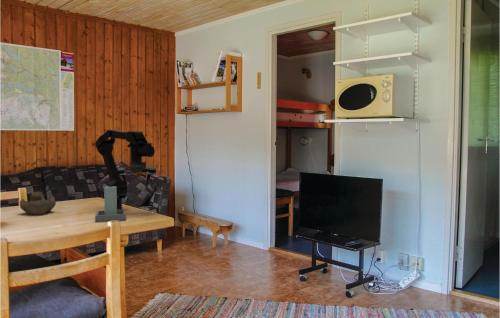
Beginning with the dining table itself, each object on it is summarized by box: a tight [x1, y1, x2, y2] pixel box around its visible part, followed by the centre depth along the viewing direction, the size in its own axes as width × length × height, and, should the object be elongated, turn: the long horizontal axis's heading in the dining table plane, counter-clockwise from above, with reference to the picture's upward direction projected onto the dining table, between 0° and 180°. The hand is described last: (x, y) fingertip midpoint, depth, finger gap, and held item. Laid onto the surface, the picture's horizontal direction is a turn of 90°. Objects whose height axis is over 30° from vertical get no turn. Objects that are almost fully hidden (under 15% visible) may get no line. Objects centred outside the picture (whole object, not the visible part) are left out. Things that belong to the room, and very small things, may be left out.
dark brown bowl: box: [19, 191, 57, 216], centre depth 213 cm, size 16×11×15 cm
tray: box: [94, 209, 126, 223], centre depth 200 cm, size 13×13×3 cm
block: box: [103, 186, 117, 215], centre depth 199 cm, size 4×4×14 cm
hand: (136, 187), depth 212 cm, fingers open, 9 cm apart
